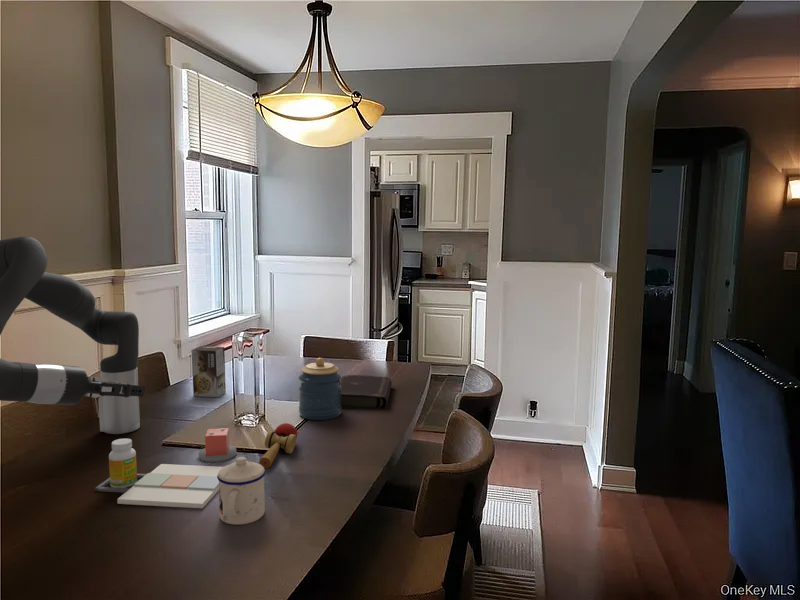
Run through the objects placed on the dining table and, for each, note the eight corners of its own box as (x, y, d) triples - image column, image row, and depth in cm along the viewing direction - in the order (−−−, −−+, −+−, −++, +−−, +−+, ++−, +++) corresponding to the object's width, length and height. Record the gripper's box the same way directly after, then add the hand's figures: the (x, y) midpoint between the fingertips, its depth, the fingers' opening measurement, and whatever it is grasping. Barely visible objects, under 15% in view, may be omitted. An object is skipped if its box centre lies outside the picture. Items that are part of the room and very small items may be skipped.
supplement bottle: (126, 490, 124) (124, 446, 123) (104, 487, 125) (102, 444, 124) (142, 479, 130) (140, 438, 128) (121, 477, 131) (119, 436, 129)
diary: (391, 389, 208) (392, 376, 208) (387, 411, 183) (387, 395, 183) (340, 387, 209) (340, 374, 208) (328, 408, 184) (329, 393, 183)
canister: (303, 407, 184) (303, 352, 182) (344, 408, 183) (344, 353, 181) (294, 420, 171) (294, 362, 169) (338, 421, 170) (338, 363, 168)
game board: (80, 501, 119) (79, 495, 119) (128, 466, 137) (128, 460, 137) (202, 508, 117) (202, 501, 116) (235, 471, 134) (235, 465, 134)
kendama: (284, 475, 136) (305, 438, 154) (278, 451, 135) (300, 416, 152) (253, 478, 138) (278, 441, 155) (247, 454, 136) (273, 419, 154)
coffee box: (226, 392, 199) (225, 346, 197) (217, 397, 193) (216, 350, 191) (202, 391, 200) (200, 345, 199) (192, 396, 194) (190, 349, 192)
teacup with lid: (226, 503, 119) (225, 449, 117) (270, 504, 119) (269, 449, 117) (206, 534, 107) (205, 474, 106) (255, 534, 107) (254, 474, 106)
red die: (195, 463, 139) (194, 437, 138) (201, 449, 148) (201, 424, 147) (234, 461, 140) (233, 435, 140) (238, 447, 149) (237, 423, 148)
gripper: (77, 366, 107) (154, 374, 120) (39, 362, 115) (116, 369, 128) (69, 407, 106) (148, 410, 119) (31, 400, 113) (110, 404, 127)
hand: (131, 389), depth 123 cm, fingers open, 8 cm apart
